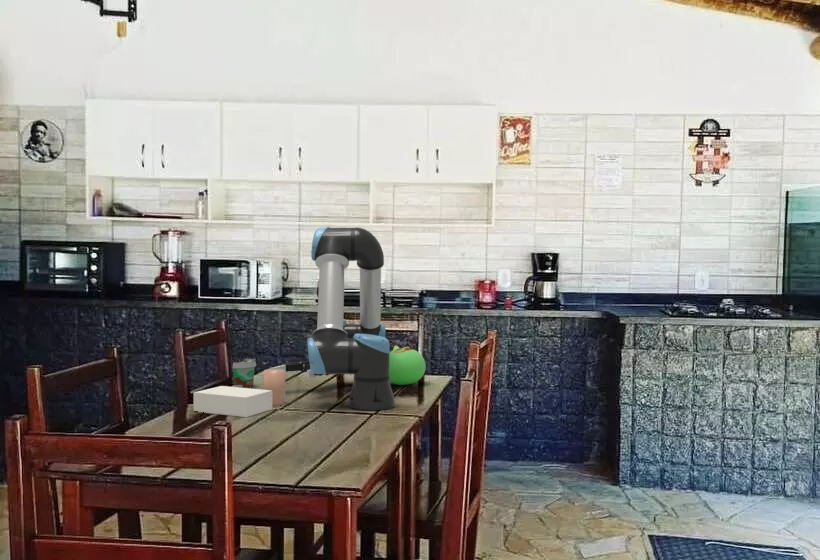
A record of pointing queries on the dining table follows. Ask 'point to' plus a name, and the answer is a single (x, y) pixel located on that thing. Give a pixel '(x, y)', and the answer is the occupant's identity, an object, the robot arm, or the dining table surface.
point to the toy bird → (405, 366)
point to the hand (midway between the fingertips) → (290, 372)
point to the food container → (244, 373)
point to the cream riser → (233, 401)
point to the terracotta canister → (275, 385)
